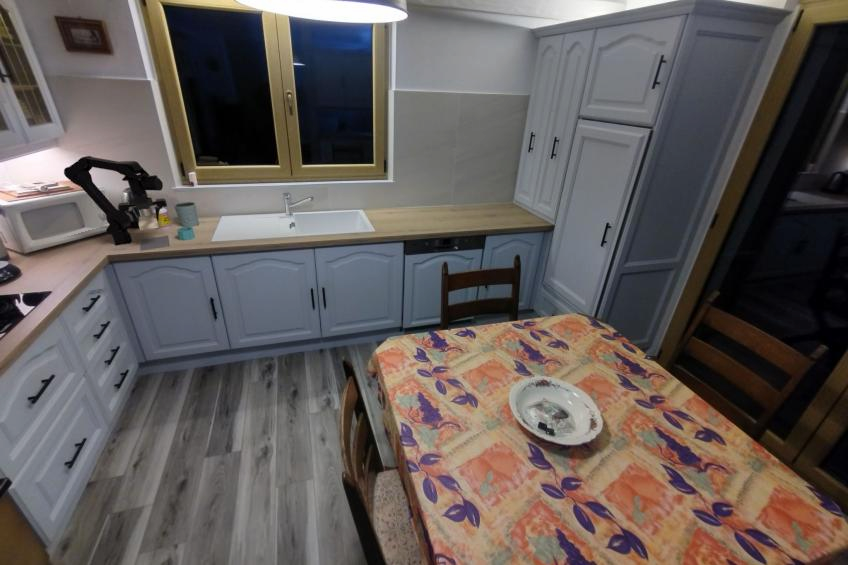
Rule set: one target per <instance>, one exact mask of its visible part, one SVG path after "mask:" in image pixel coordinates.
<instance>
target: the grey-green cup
mask: <svg viewBox="0 0 848 565" xmlns="http://www.w3.org/2000/svg"><path fill="white" fill-rule="evenodd" d="M173 206H174V210H175V211H176V215H177V218H178V220H179V222H180V226H181V228H183V227H192V228H193V227H198V226H199V225H200V222H199V217H198V212H197V207H196V202H194V201H185V202H178V203H175V204H174V205H173Z"/></svg>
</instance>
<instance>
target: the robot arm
mask: <svg viewBox="0 0 848 565" xmlns="http://www.w3.org/2000/svg"><path fill="white" fill-rule="evenodd" d="M93 168H94V169H95V168H96V169H101V170H102V169H103V170H107V171H114V172H115V173H116V172H117V173H118V174H120V175H122V176H124V177H123V178H122V179H121V180H122V181H126V182H127V183H128V186H129V188H130V193H131V196H132V199H133V203H129V202H127V201H126V202H118V205H117V208H118V209H117V208H116V207H115V205H113V203H112V202H111V201H110V199H108V198H107V196H105V195H104V193H103V192H102V191H101V190H100V188H99V187H98V186H97V185H96V184H95V182H94V181H93V177H92V174H91V173H90V171H91V170H92V169H93ZM63 175H64V176H65V177H66V179H68V180H69V181H70V182H71V183H73V184H75V185H77V186H78V187H80V188H82V190H83V191H84V192H85V193H86V194H87V195H88V196H89V198H91V200H92V201H93V202H94V203H95V204H96V205H97V207H98V208H99V209H100V210H101V211H102V212H103V213H104V214H105V217H106V222H107V223H108V226H107V228H106V229H105V231H106V233H107V234H108V235H111V236H112V239H113V240H114V246H115V247H117V246H122V245H123V246H124V245H127V244H128V245H129V244H132V241H133V238H132V234H131V232H130V231H129V229H130V228H131V225H132V220H131V217H130V216H129V214H130V215H131V216H132V217H133V219H135V221H136V222H137V224H139V216H138V215H137V213H136V211H135V208H136V210H137V211H141V210H148V209H149V210H150V207H153V206H155V211H156V218H157V221H158V219H159V211H160V209H162V207H164V208H165V207H168V203H167V200H166V199H165V198H163V197H162V198H155V201H153V198H152V197H150V196H148V193H147V191H156V192H158V191H162V190H163V188H164V182H163V181H162V180H161V179H160V178H159V177H158V175H157V174H156V175H155V174H153V175H150V174H149V172H147V171H146V170H145V169H144V168H143V166H141V165H140V163H139V162H138V161H135V160H126V161H118V160H111V159H104V158H100V157H99V158H98V157H94V156H91V155H86V156H83V157H80V158H79V159H78V160H76V162H74V163H72V164H71V165H70V166H66V167H65V168H64V169H63Z"/></svg>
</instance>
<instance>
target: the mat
mask: <svg viewBox="0 0 848 565" xmlns="http://www.w3.org/2000/svg"><path fill="white" fill-rule="evenodd" d="M169 239H170V238H169V234H168V235H161V236H156V237H155V236H154V237H146V238H141V239H140V243H139V244H140V246H139V249H140V250H139V251H140V252H142V251H150V250H155V249H162V248H167V247H168V248H169V247H171V245H170V244H171V243H170V240H169Z"/></svg>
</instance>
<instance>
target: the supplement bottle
mask: <svg viewBox="0 0 848 565" xmlns="http://www.w3.org/2000/svg"><path fill="white" fill-rule="evenodd" d="M152 207H153V210H152V215H156V211H155V206H152ZM158 227H159V228H157V229H158V230H165V229H170V228H172V222H171V218H170V216H169V213H168V209H166V208H165V207H162V209H160V211H159V219H158Z"/></svg>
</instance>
